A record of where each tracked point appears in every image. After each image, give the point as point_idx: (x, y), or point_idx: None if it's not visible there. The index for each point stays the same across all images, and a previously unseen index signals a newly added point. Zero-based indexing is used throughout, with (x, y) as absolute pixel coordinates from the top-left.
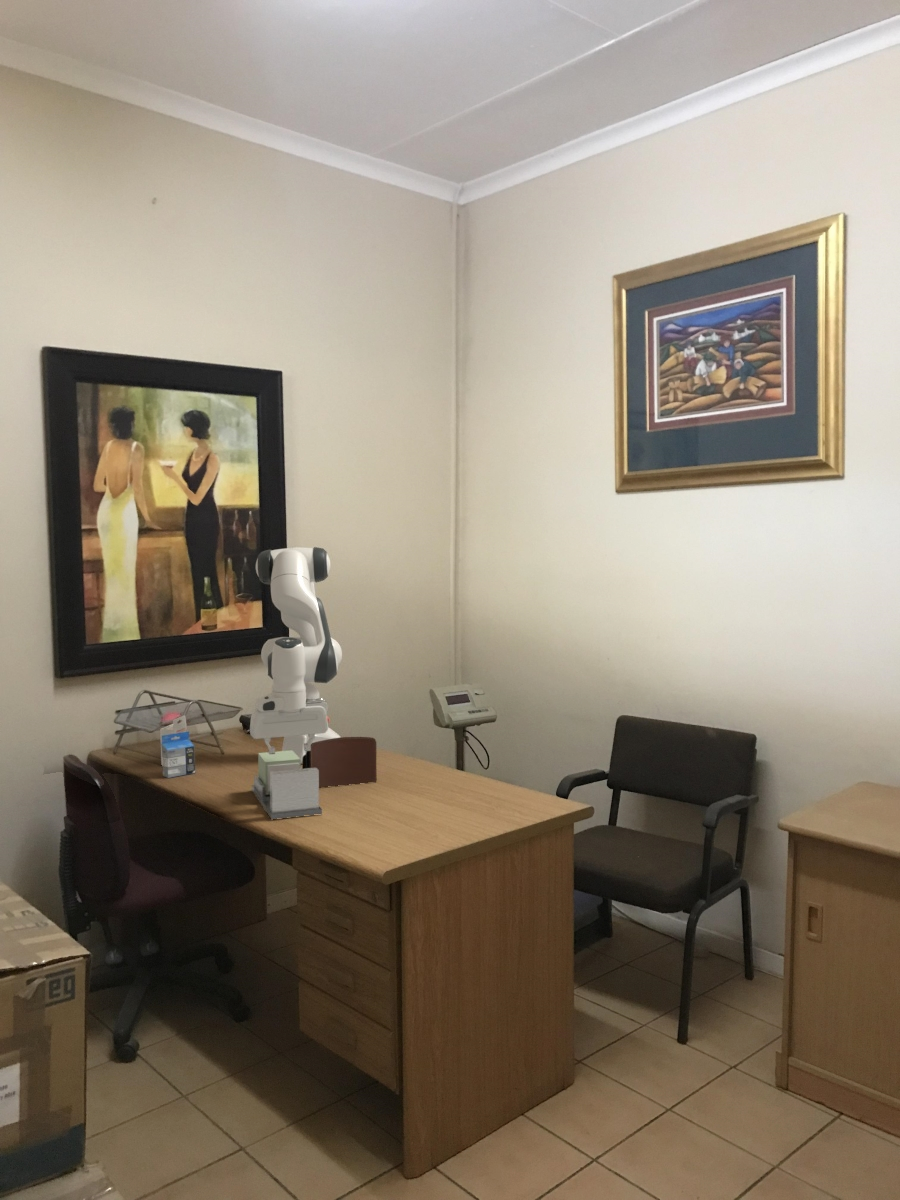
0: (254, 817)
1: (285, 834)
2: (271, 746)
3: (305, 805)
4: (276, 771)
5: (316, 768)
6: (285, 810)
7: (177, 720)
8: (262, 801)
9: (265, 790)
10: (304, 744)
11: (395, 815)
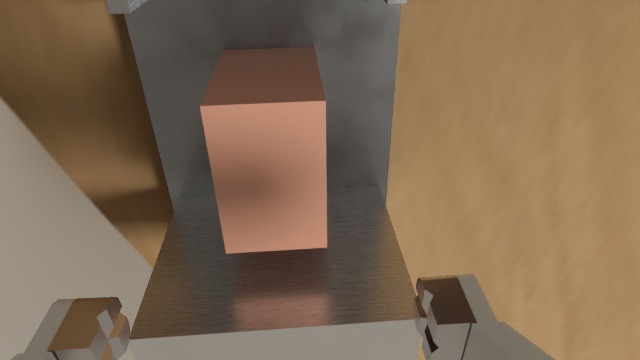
0: (117, 185)
1: None
2: (63, 353)
3: None
4: (170, 343)
5: (418, 334)
6: None
7: None
8: (135, 56)
9: (136, 8)
10: (433, 337)
11: (594, 277)
